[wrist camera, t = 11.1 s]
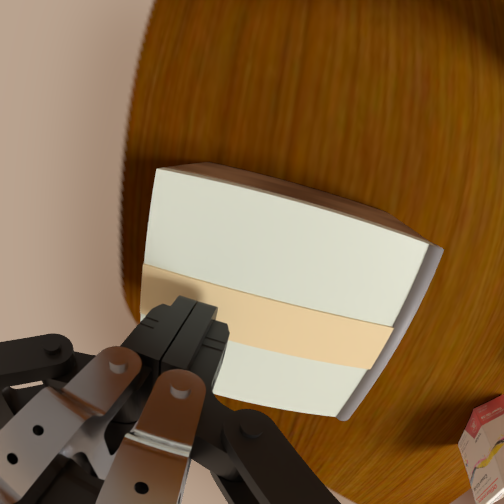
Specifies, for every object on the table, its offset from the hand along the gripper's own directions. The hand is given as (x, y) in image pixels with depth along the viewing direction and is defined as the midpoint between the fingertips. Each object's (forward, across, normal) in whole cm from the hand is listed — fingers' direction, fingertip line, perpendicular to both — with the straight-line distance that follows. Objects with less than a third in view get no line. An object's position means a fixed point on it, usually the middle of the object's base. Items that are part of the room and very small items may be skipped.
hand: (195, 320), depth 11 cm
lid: (+2, -3, 0) cm, 3 cm away
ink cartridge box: (+8, -33, +13) cm, 36 cm away
